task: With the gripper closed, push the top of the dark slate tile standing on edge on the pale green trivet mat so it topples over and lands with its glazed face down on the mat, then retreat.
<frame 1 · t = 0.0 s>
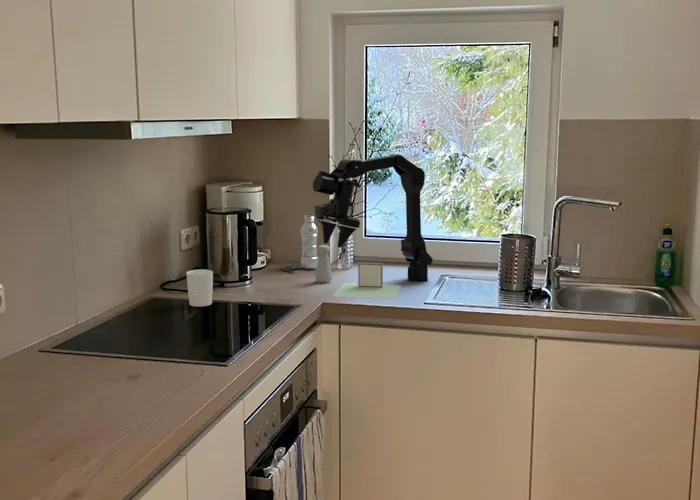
hand: (332, 245, 243), 15 cm above the worktop, tool pointing down, fingers open, 9 cm apart
white cup: (200, 304, 230), on the worktop
plastic bottle: (309, 269, 284), on the worktop
slate tile: (370, 286, 252), resting on trivet mat
salt shaker: (323, 283, 260), on the worktop
trivet mat: (367, 291, 246), on the worktop
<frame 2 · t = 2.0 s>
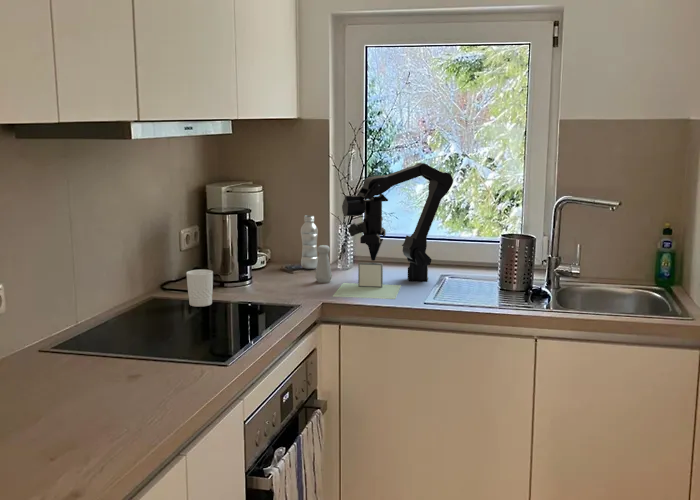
hand: (373, 260, 256), 8 cm above the worktop, tool pointing down, fingers closed
nothing on the worktop moved.
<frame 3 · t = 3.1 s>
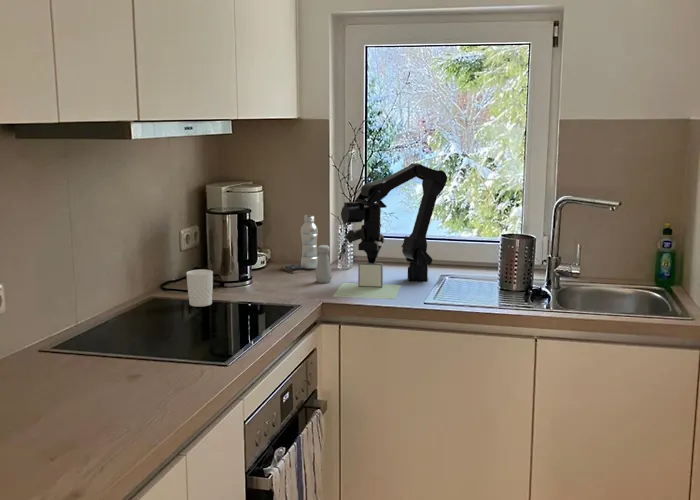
hand: (371, 267, 253), 6 cm above the worktop, tool pointing down, fingers closed
nothing on the worktop moved.
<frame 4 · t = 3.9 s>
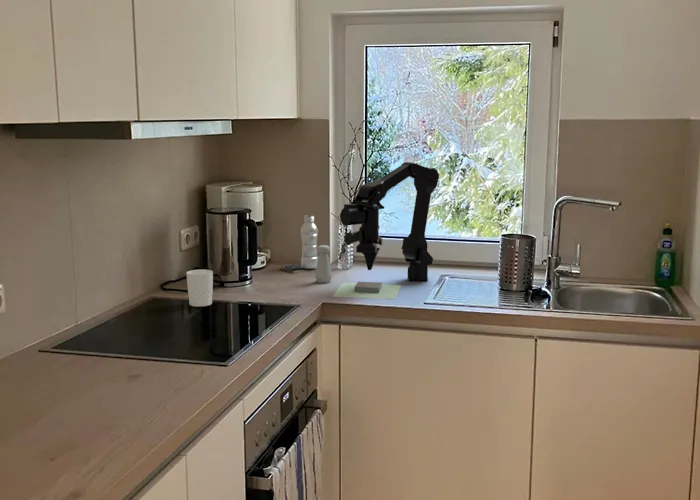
hand: (369, 269, 249), 6 cm above the worktop, tool pointing down, fingers closed
slate tile: (370, 284, 251), point 1 cm above the worktop, tilted 90°, touching trivet mat
everything else where it was.
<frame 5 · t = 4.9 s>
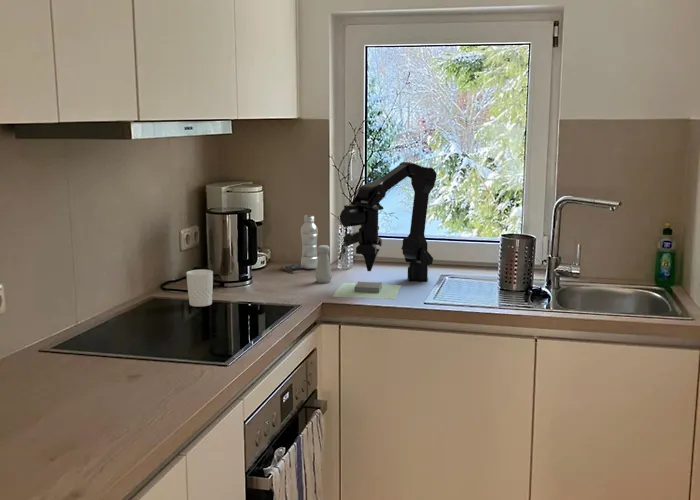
hand: (369, 271, 247), 6 cm above the worktop, tool pointing down, fingers closed
nothing on the worktop moved.
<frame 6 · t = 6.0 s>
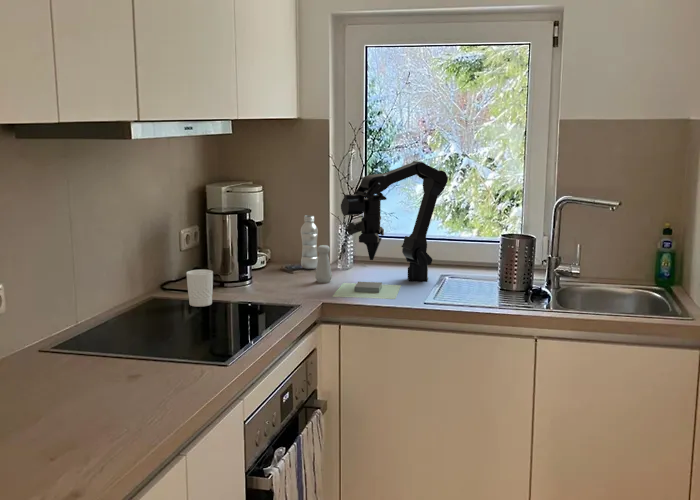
hand: (371, 259, 253), 9 cm above the worktop, tool pointing down, fingers closed
nothing on the worktop moved.
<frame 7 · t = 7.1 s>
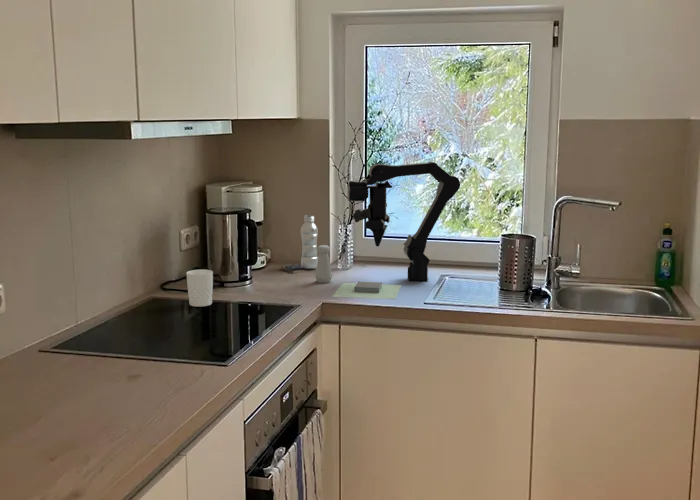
hand: (377, 246, 259), 13 cm above the worktop, tool pointing down, fingers closed
nothing on the worktop moved.
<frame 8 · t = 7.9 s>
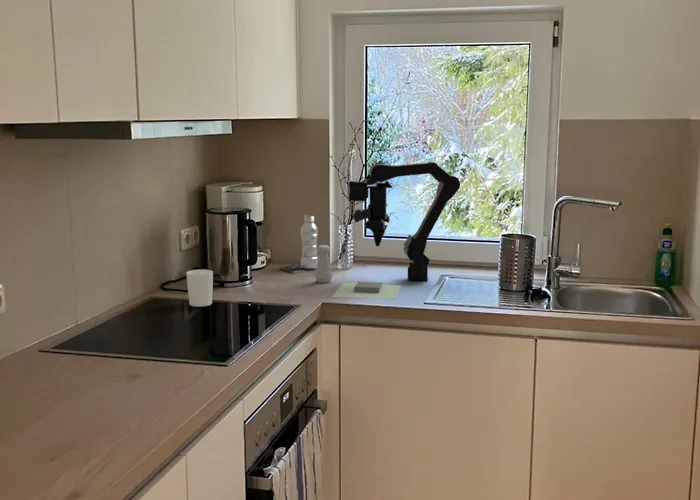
hand: (377, 246, 259), 13 cm above the worktop, tool pointing down, fingers closed
nothing on the worktop moved.
at the end: slate tile tilted 90°; slate tile inside the target area (7.3 cm from its centre), point 1.3 cm above the worktop; slate tile touching trivet mat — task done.
